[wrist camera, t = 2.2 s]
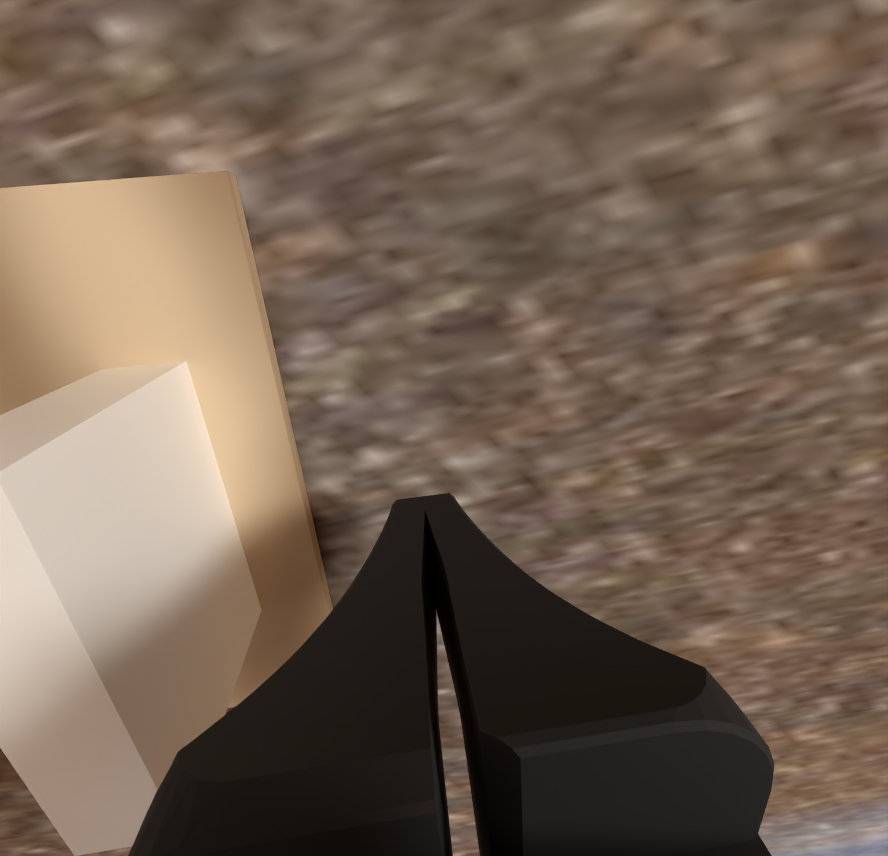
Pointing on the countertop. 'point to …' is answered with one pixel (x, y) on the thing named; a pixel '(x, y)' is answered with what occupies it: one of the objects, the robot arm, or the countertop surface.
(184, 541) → the block
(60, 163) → the countertop surface
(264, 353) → the mat
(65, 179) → the countertop surface
